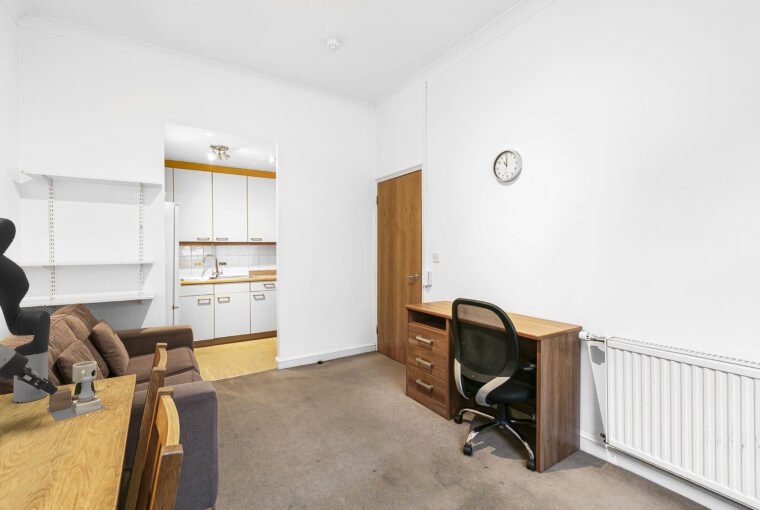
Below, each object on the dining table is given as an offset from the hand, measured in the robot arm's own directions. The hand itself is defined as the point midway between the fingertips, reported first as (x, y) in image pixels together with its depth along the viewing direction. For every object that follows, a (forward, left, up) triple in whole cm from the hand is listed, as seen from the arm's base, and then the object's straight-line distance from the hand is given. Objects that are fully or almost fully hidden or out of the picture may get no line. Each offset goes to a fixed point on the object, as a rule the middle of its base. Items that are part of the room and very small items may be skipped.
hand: (52, 388), depth 114 cm
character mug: (-18, +12, -11) cm, 24 cm away
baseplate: (-4, +7, -11) cm, 13 cm away
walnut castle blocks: (-9, +7, -10) cm, 15 cm away
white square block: (0, +9, -10) cm, 13 cm away
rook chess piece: (0, +9, -7) cm, 11 cm away
